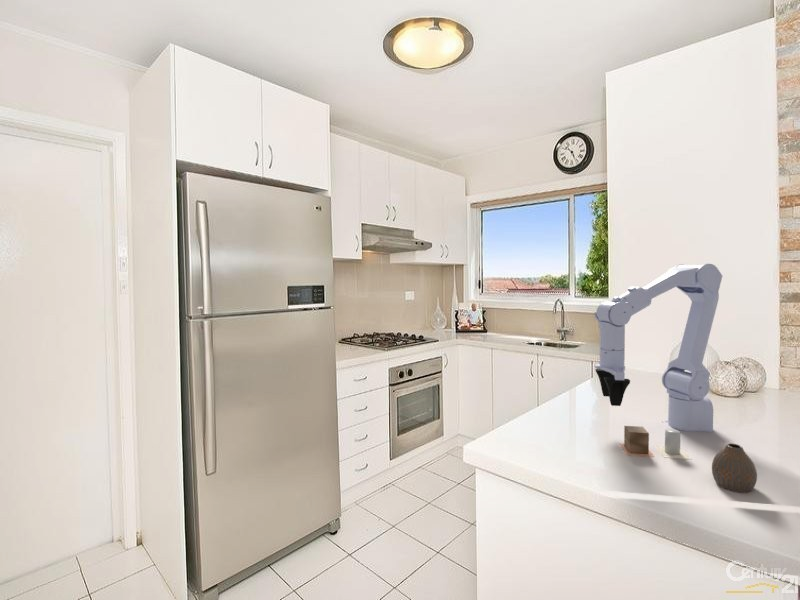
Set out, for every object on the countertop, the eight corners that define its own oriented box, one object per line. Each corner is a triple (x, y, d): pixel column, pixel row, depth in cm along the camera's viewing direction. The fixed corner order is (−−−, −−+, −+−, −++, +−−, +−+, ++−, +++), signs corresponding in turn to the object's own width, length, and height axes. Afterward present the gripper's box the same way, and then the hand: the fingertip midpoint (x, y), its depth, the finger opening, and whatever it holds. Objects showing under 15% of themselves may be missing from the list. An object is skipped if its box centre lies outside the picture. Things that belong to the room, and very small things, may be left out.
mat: (678, 449, 100) (678, 445, 100) (693, 464, 92) (694, 461, 92) (618, 445, 103) (618, 442, 103) (628, 460, 95) (628, 456, 95)
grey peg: (676, 450, 98) (677, 429, 97) (682, 455, 95) (682, 434, 95) (662, 449, 98) (662, 428, 98) (667, 454, 96) (668, 433, 95)
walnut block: (642, 447, 100) (642, 426, 100) (648, 454, 96) (648, 433, 96) (624, 445, 101) (624, 425, 100) (629, 453, 97) (629, 432, 96)
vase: (702, 481, 85) (703, 439, 84) (734, 479, 86) (735, 437, 85) (732, 500, 78) (733, 454, 78) (766, 497, 79) (768, 452, 78)
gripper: (588, 343, 115) (588, 391, 116) (602, 354, 101) (601, 409, 102) (616, 343, 113) (616, 392, 114) (634, 354, 99) (633, 410, 100)
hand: (611, 400), depth 108 cm, fingers open, 7 cm apart
